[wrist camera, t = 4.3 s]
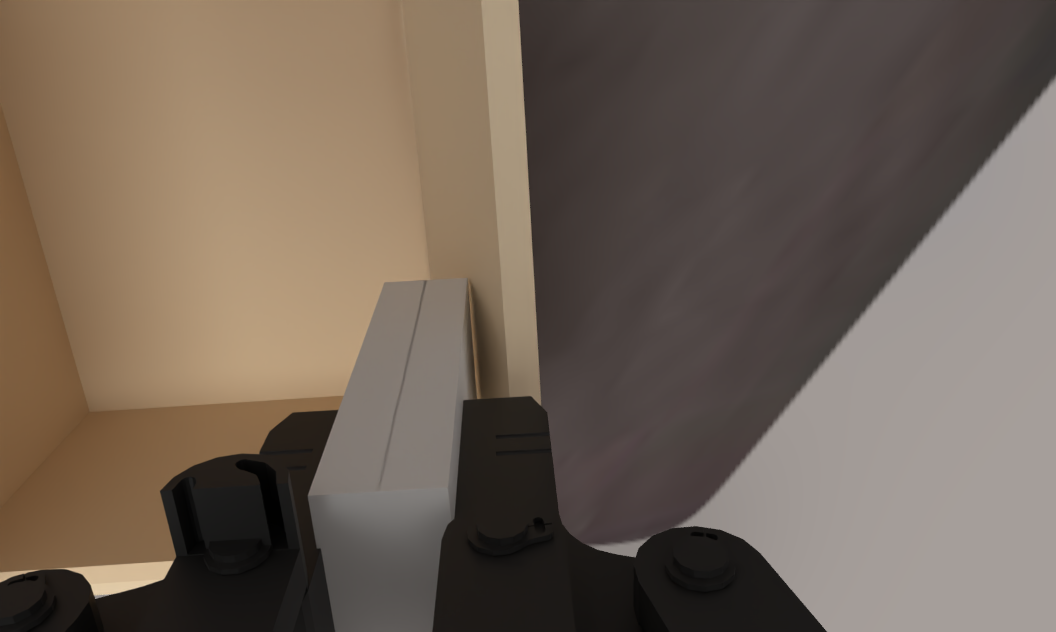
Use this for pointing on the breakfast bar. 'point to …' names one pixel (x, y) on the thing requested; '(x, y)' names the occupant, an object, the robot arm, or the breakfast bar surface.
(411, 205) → the carton
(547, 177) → the breakfast bar surface
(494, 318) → the flap
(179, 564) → the robot arm
